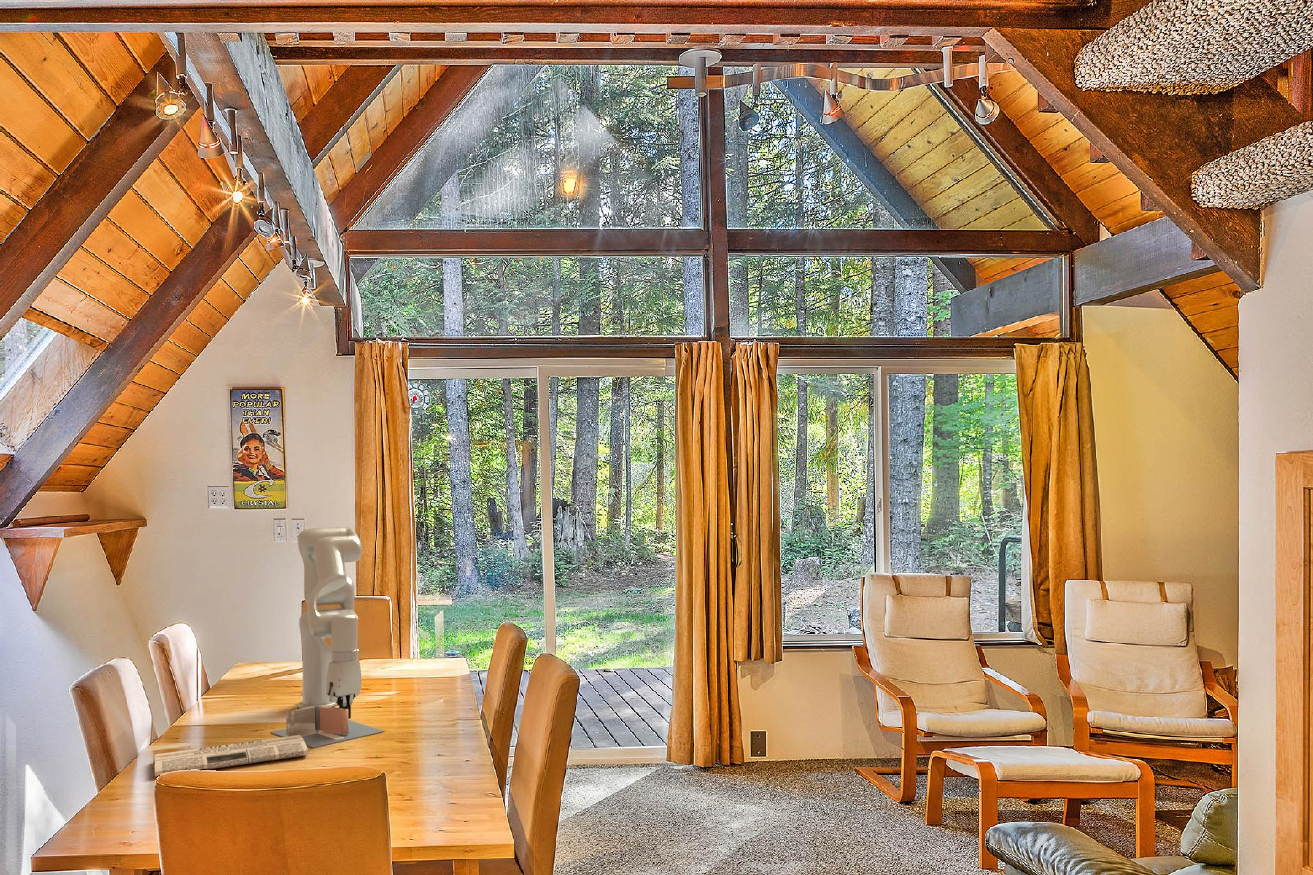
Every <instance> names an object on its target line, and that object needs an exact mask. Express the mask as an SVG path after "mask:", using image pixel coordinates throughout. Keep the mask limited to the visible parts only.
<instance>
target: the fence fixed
mask: <svg viewBox="0 0 1313 875" xmlns="http://www.w3.org/2000/svg"><path fill="white" fill-rule="evenodd" d="M285 713H286V714H285V716H286V721H285V722H286V723H285V724H286V727H285V729H286V737H288V736H295V735H301V736H302V735H307V734H311V733H315V707H307V708H302V709H300V708H298V709H293V710H287V711H286V712H285Z"/></svg>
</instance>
